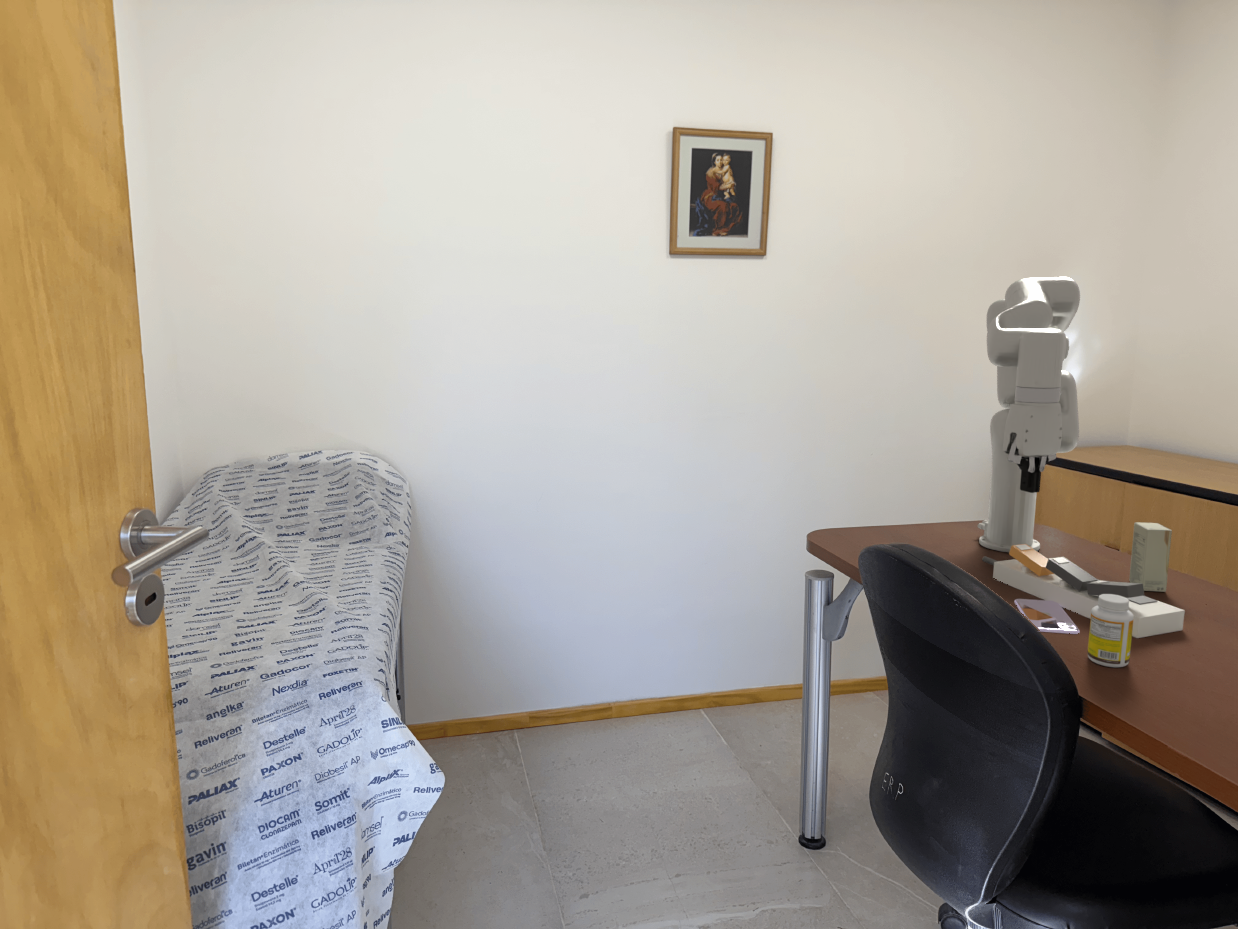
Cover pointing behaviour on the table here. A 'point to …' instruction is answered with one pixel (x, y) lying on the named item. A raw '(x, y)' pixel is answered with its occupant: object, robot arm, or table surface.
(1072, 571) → the block
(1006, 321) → the robot arm
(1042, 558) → the rocker
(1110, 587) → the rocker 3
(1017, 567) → the power strip
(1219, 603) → the table surface
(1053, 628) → the mobile phone
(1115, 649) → the supplement bottle
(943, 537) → the table surface
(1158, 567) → the skincare box
